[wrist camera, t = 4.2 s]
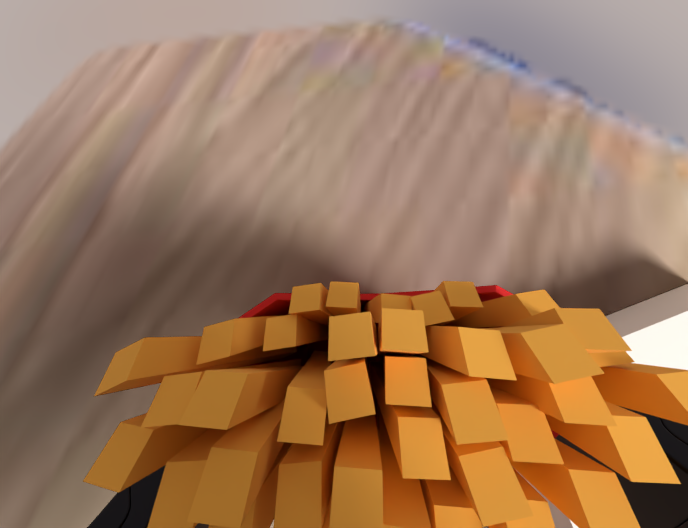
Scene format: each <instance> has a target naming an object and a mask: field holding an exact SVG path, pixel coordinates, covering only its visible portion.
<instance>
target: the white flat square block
mask: <svg viewBox="0 0 688 528" xmlns="http://www.w3.org/2000/svg"><path fill="white" fill-rule="evenodd" d="M605 317H606V318H607V319H608V320H609V322H610V323H611V324H612V326H613V327H614V328H615V329H616V331H617V332H618V333H619V335H620V336H621V337H622V338H623V340H624V341H625V342H626V343H627V345H628V346H629V347H630V349H631V350H632V351H626V352H627V354H628V355H629V356H630V357H631V358H632V359H633V360H634V361H635V362H632V363H636V364H644V365H652V366H660V367H668V368H676V369H684V370H688V284H686V285H683V286H681V287H678V288H676V289H673V290H670V291H668V292H665V293H663V294H660V295H658V296H655V297H653V298H650V299H648V300H645V301H643V302H640V303H638V304H635V305H633V306H630V307H628V308H625V309H622V310H620V311H617V312H615V313H612V314H610V315H607V316H605ZM514 469H515V468H514ZM515 470H516V469H515ZM516 471H517V470H516ZM517 472H518V471H517ZM518 473H519V472H518ZM519 474H520V473H519ZM520 475H521V474H520ZM521 476H522V475H521ZM522 477H523V476H522ZM523 478H524V477H523ZM524 479H525V478H524ZM525 480H526V479H525ZM526 481H527V482H528V483H529V484H530V485H531V486H532V487H533V488H534V489H535V490H536V491H537V492H538V493H539V494H540V495H541V496H542V497H543V498H544V499H545V500H546V501H547V502H548V504H549V508H550V511H551V515H552V518H553V521H554V525H555V528H579V527H577V526H576V525H575V524H574V523H573V522H572V521H571V520H570V519H569V518H568V517H567V516H566V515H564V514H563V513H562V512H561V511H560V510H559V509H558V508H557V507H556V506H555V505H554V504H552V503H551V502H550V501H549V500H548V499H547V498H546V497H545V496H544V495H543V494H542V493H541V492H539V491H538V490H537V489H536V488H535V487H534V486H533V485H532V484H531V483H530V482H529V481H528V480H526Z"/></svg>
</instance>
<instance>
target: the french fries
mask: <svg viewBox="0 0 688 528" xmlns="http://www.w3.org/2000/svg"><path fill="white" fill-rule="evenodd" d="M626 351H632V350H631V349H630V347H629V346H628V345H627V343H626V342H625V341H624V340H623V338H622V337H621V336H620V335H619V333H618V332H617V331H616V329H615V328H614V327H613V326H612V324H611V323H610V322H609V320H608V319H607V318H606V317H605V315H604V314H603V313H602V311H601V310H600V309H585V308H560V307H559V306H558V305H557V304H556V302H555V301H554V300H553V299H552V298H551V297H550V295H549V294H548V293H547V292H546V291H545V290H537V291H531V292H525V293H518V294H512V293H510V292H508V291H506V290H504V289H503V288H501V287H499V286H497V285H492V286H480V287H475V286H474V283H473V282H458V281H443V282H442V283H441V284H440V285H439V286H438V287H437V288H436V289H435V290H429V291H413V292H397V293H381V294H360V291H359V283H353V282H332V281H331V282H330V287H329V291H328V290H327V289H326V288H325V287H324V286H323V285H322V284H321V283H316V284H309V285H302V286H295V287H293V289H292V293H275V294H273V295H272V296H270V297H269V298H267V299H266V300H264V301H263V302H261V303H260V304H258V305H257V306H255V307H254V308H252V309H251V310H249V311H248V312H246V313H245V314H244V315H242V316H241V317H239V318H237V319H232V320H228V321H224V322H221V323H217V324H213V325H210V326H206V327H204V330H203V335H202V336H188V337H147V338H143V339H141V340H139V341H137V342H135V343H133V344H131V345H129V346H127V347H125V348H123V349H121V350H120V351H118V352H116V353H115V355H114V357H113V359H112V361H111V363H110V365H109V367H108V369H107V371H106V373H105V375H104V377H103V379H102V381H101V383H100V385H99V387H98V389H97V391H96V393H95V395H94V396H98V395H103V394H108V393H113V392H118V391H123V390H128V389H133V388H138V387H143V386H147V385H152V384H157V383H161V384H160V387H159V389H158V391H157V393H156V395H155V397H154V400H153V402H152V404H151V406H150V408H149V410H148V413H146V414H143V415H140V416H137V417H134V418H131V419H128V420H125V421H122V422H120V424H119V425H118V427H117V429H116V430H115V432H114V433H113V435H112V436H111V438H110V440H109V441H108V443H107V444H106V446H105V447H104V449H103V451H102V452H101V454H100V455H99V457H98V458H97V460H96V461H95V463H94V465H93V466H92V468H91V469H90V471H89V472H88V474H87V476H86V477H85V479H84V480H83V482H86V483H90V484H93V485H96V486H99V487H102V488H106V489H109V490H112V491H115V492H118V493H119V492H121V491H123V490H124V489H126V488H128V487H129V486H131V485H133V484H134V483H136V482H138V481H139V480H141V479H143V478H144V477H146V476H148V475H149V474H151V473H153V472H155V471H156V470H158V469H160V468H161V467H163V466H165V465H166V466H165V469H164V473H163V476H162V479H161V483H160V486H159V490H158V493H157V497H156V500H155V503H154V507H153V510H152V514H151V517H150V520H149V524H148V527H147V528H195V526H196V525H197V524H198V523H201V524H209V527H208V528H270V526H271V524H272V522H273V520H274V528H483V527H485V526H488V527H489V528H555V525H554V521H553V518H552V515H551V511H550V508H549V504H548V502H547V501H546V500H545V499H544V498H543V497H542V496H541V495H540V494H539V493H538V492H537V491H536V490H535V489H534V488H533V487H532V486H531V485H530V484H529V483H528V482H527V481H526V480H528V481H529V482H530V483H531V484H532V485H533V486H534V487H535V488H536V489H537V490H538V491H539V492H541V493H542V494H543V495H544V496H545V497H546V498H547V499H548V500H549V501H550V502H551V503H552V504H554V505H555V506H556V507H557V508H558V509H559V510H560V511H561V512H562V513H563V514H564V515H566V516H567V517H568V518H569V519H570V520H571V521H572V522H573V523H574V524H575V525H576V526H577V527H579V528H640V525H639V523H638V521H637V519H636V517H635V515H634V512H633V510H632V508H631V506H630V504H629V502H628V500H627V497H626V495H625V493H624V491H623V489H622V487H621V484H620V482H619V480H618V478H617V476H616V474H615V472H613V471H611V470H609V469H608V468H606V467H604V466H602V465H601V464H599V463H597V462H595V461H594V460H592V459H590V458H588V457H586V456H585V455H583V454H581V453H579V452H578V451H576V450H574V449H572V448H571V447H569V446H567V445H565V444H564V443H562V442H560V441H558V440H557V439H555V438H556V437H557V436H558V435H561V436H562V437H564V438H565V439H567V440H568V441H570V442H571V443H573V444H574V445H576V446H578V447H579V448H581V449H582V450H584V451H585V452H587V453H588V454H590V455H591V456H593V457H594V458H596V459H597V460H599V461H601V462H602V463H604V464H605V465H607V466H608V467H610V468H611V469H613V470H614V471H616V472H617V473H619V474H620V475H622V476H624V477H625V478H627V479H628V480H630V481H631V482H647V483H670V484H681V483H680V481H679V479H678V477H677V475H676V473H675V472H674V470H673V468H672V466H671V464H670V462H669V460H668V458H667V456H666V454H665V453H664V451H663V449H662V447H661V445H660V443H659V441H658V439H657V437H656V435H655V434H654V432H653V430H652V428H651V426H650V424H649V422H648V420H647V418H646V417H644V416H642V415H639V414H637V413H634V412H632V411H629V410H627V409H624V408H628V409H632V410H635V411H639V412H642V413H646V414H649V415H653V416H656V417H660V418H663V419H667V420H670V421H674V422H677V423H681V424H684V425H688V370H684V369H676V368H668V367H660V366H652V365H644V364H636V363H632V362H635V361H634V360H633V359H632V358H631V357H630V356H629V355H628V354H627V352H626ZM619 406H621V407H619ZM622 407H624V408H622ZM514 468H515V469H516V470H517V471H518V472H519V473H520V474H521V475H522V476H523V477H524V478H525V479H526V480H525V479H524V478H523V477H522V476H521V475H520V474H519V473H518V472H517V471H516V470H515V469H514ZM482 525H483V527H482Z"/></svg>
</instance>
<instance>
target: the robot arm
mask: <svg viewBox="0 0 688 528" xmlns="http://www.w3.org/2000/svg"><path fill="white" fill-rule="evenodd" d="M619 407H621V406H619ZM622 408H624V407H622ZM624 409H627V410H629V411H632V412H634V413H637V414H639V415H642V416H644V417H646V418H647V420H648V422H649V424H650V426H651V428H652V430H653V432H654V434H655V435H656V437H657V439H658V441H659V443H660V445H661V447H662V449H663V451H664V453H665V454H666V456H667V458H668V460H669V462H670V464H671V466H672V468H673V470H674V472H675V473H676V475H677V477H678V479H679V481H680V483H681V484H670V483H647V482H631V481H630V480H628V479H627V478H625V477H624V476H622V475H620V474H619V473H617V472H616V471H614V470H613V469H611V468H610V467H608V466H607V465H605V464H604V463H602V462H601V461H599V460H597V459H596V458H594V457H593V456H591V455H590V454H588V453H587V452H585V451H584V450H582V449H581V448H579V447H578V446H576V445H574V444H573V443H571V442H570V441H568V440H567V439H565V438H564V437H562V436H561V435H558V436H557V437H556V438H555V439H557V440H558V441H560V442H562V443H564V444H565V445H567V446H569V447H571V448H572V449H574V450H576V451H578V452H579V453H581V454H583V455H585V456H586V457H588V458H590V459H592V460H594V461H595V462H597V463H599V464H601V465H602V466H604V467H606V468H608V469H609V470H611V471H613V472H615V474H616V476H617V478H618V480H619V482H620V484H621V487H622V489H623V491H624V493H625V495H626V497H627V500H628V502H629V504H630V506H631V508H632V510H633V512H634V515H635V517H636V519H637V521H638V523H639V525H640V528H688V425H684V424H681V423H677V422H674V421H670V420H667V419H663V418H660V417H656V416H653V415H649V414H646V413H642V412H639V411H635V410H632V409H628V408H624ZM165 466H166V465H165ZM165 466H163V467H161V468H160V469H158V470H156V471H155V472H153V473H151V474H149V475H148V476H146V477H144V478H143V479H141V480H139V481H138V482H136V483H134V484H133V485H131V486H129V487H128V488H126V489H124V490H123V491H121V492H119V493H117V494H116V495H115V496H114V497H113V499H112V500H111V501H110V502H109V503H108V504H107V506H106V507H105V508H104V509H103V510H102V511H101V513H100V514H99V515H98V516H97V517H96V518H95V519H94V521H93V522H92V523H91V524H90V525H89V526H88V527H87V528H147V527H148V524H149V520H150V517H151V514H152V510H153V507H154V503H155V500H156V497H157V493H158V490H159V486H160V483H161V479H162V476H163V473H164V469H165ZM208 527H209V524H201V523H198V524H197V525H196V526H195V528H208Z"/></svg>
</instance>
